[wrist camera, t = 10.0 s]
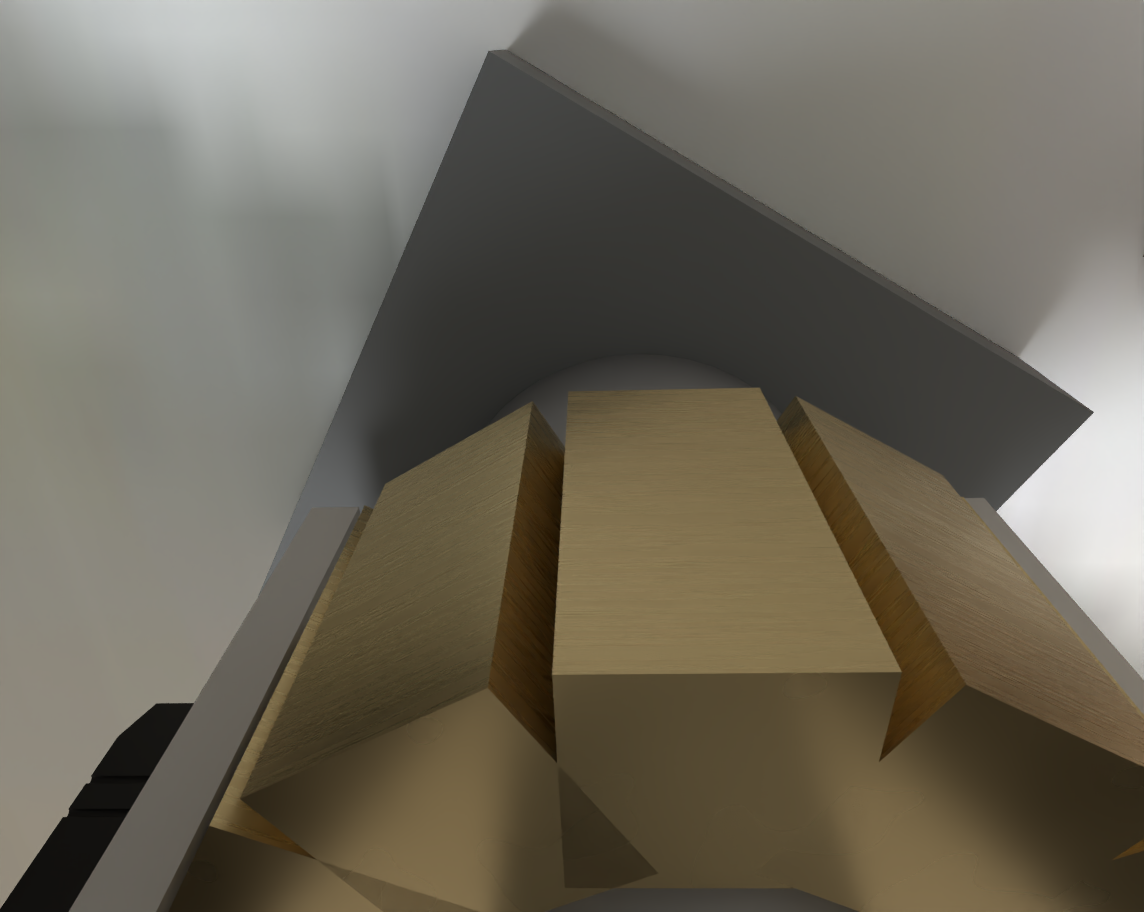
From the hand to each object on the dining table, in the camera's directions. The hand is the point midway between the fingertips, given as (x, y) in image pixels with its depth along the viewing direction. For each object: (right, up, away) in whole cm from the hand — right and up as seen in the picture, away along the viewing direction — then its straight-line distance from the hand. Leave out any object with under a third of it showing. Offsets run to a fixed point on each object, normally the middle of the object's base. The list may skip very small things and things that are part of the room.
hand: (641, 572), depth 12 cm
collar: (0, -1, -2) cm, 3 cm away
